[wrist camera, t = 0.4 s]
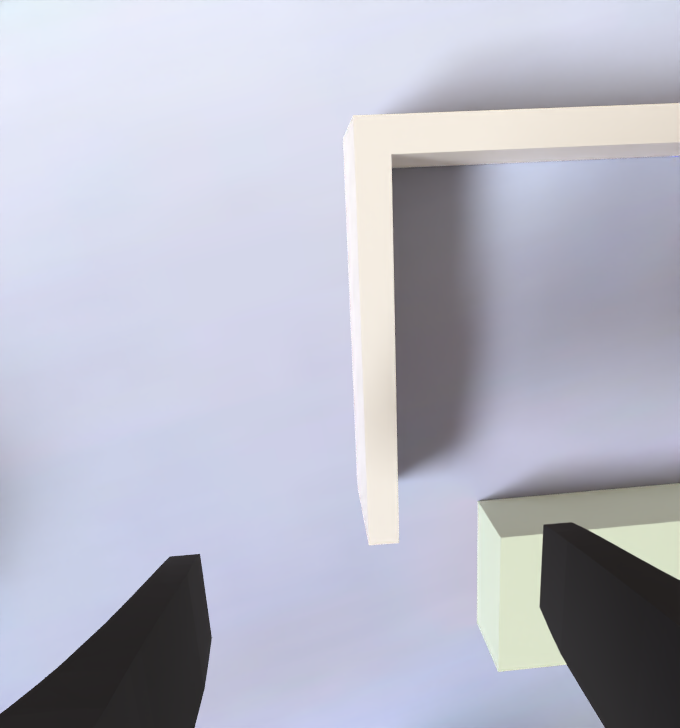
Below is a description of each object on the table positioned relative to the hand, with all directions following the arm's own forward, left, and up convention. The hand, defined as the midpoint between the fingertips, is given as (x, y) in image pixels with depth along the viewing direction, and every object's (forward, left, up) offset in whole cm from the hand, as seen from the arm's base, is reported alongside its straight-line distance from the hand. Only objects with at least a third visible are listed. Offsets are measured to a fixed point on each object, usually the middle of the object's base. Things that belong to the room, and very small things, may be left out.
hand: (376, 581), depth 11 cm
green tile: (-7, -10, -10) cm, 16 cm away
